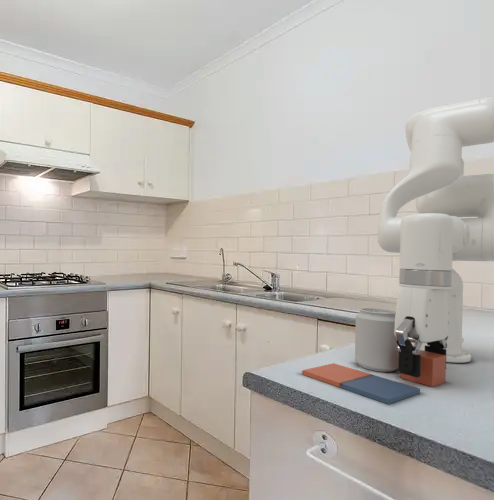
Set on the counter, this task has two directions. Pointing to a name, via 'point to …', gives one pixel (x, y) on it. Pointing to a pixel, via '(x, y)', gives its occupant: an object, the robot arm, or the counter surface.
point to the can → (376, 340)
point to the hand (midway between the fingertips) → (422, 371)
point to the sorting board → (362, 383)
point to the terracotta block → (430, 369)
